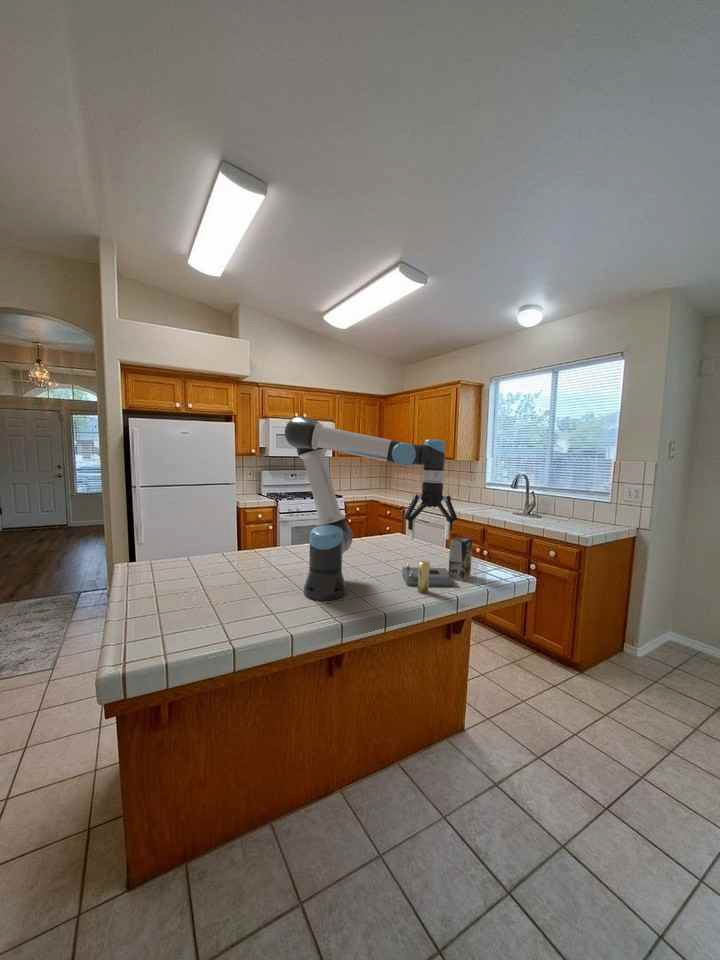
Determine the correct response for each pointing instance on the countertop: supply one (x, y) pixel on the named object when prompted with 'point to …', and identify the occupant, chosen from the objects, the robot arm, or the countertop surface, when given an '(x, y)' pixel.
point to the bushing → (423, 577)
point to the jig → (435, 576)
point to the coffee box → (460, 558)
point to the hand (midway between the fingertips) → (429, 538)
